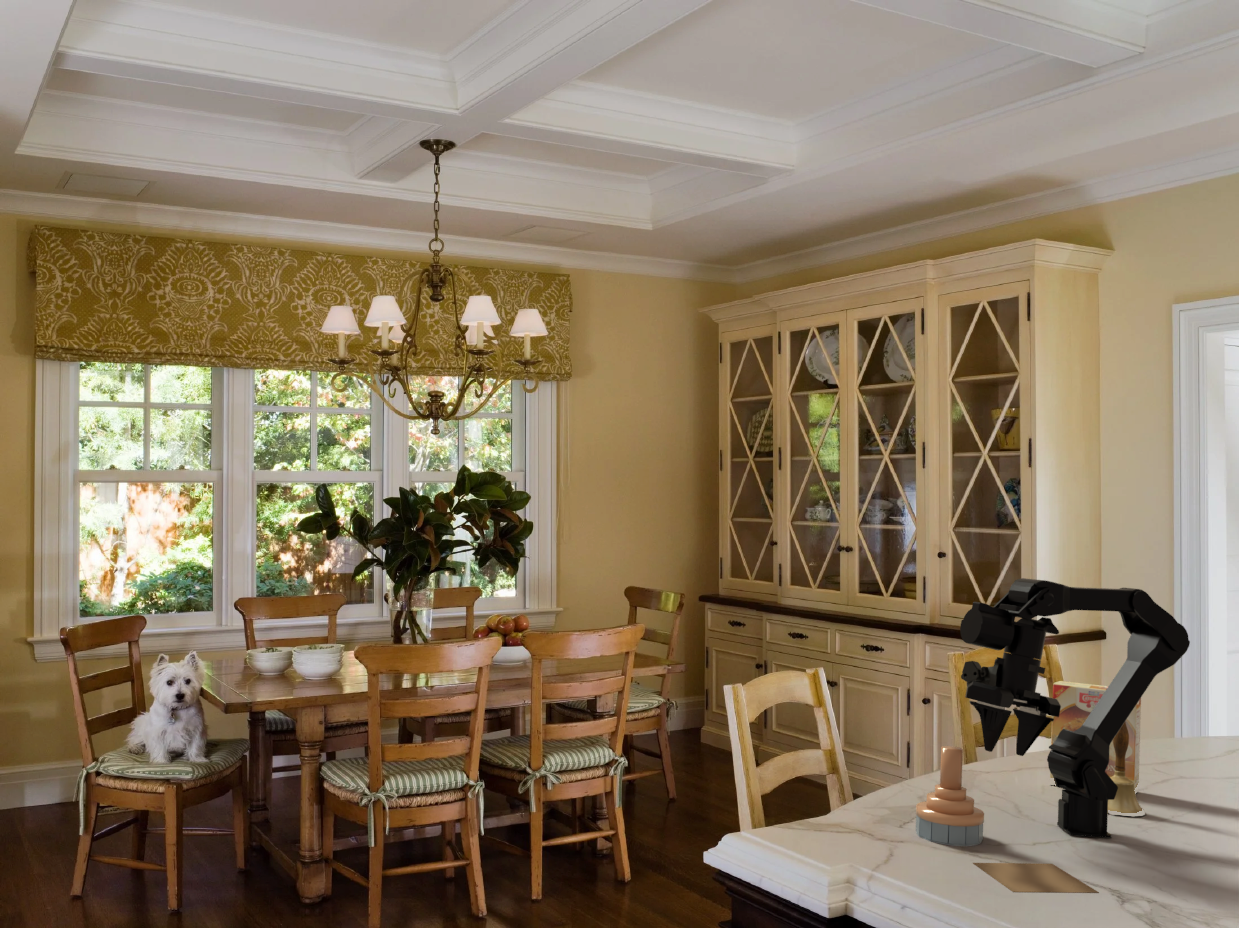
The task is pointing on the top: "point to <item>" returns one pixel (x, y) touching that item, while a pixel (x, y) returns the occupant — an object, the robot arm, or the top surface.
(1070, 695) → the coffeecake box
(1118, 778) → the hand bell
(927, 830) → the blue-grey faceted ring
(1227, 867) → the top surface
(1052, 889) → the plate
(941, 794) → the lid
